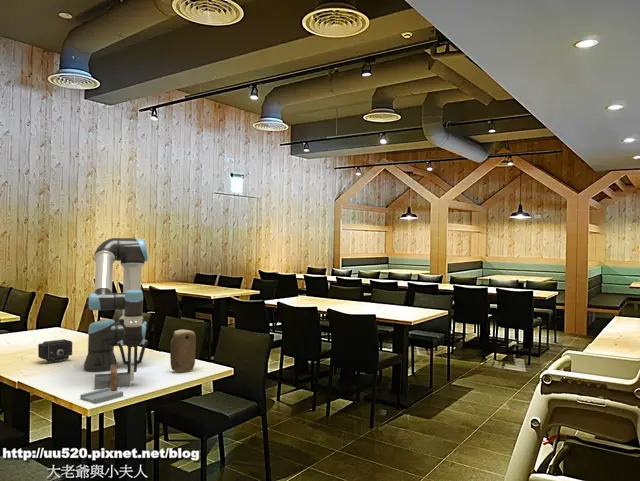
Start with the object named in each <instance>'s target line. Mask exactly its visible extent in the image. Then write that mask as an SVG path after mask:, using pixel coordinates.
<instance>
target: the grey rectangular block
mask: <svg viewBox="0 0 640 481" xmlns="http://www.w3.org/2000/svg"><path fill="white" fill-rule="evenodd" d="M110 377H111V372H108V373H98V374H97V373H96V374H94V390H100V389H104V388H110ZM118 387H120V388H129V387H131V381H130V373H128V372H125V371H124V372H117V388H118Z"/></svg>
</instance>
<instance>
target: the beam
mask: <svg viewBox="0 0 640 481" xmlns="http://www.w3.org/2000/svg"><path fill="white" fill-rule="evenodd" d="M110 373H111V377H110V390H111V391H115V392H118V391H117V390H118V389H117V373H118V363H117V364H116V365H111V370H110Z"/></svg>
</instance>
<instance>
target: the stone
mask: <svg viewBox="0 0 640 481" xmlns="http://www.w3.org/2000/svg"><path fill="white" fill-rule="evenodd" d="M172 335H173V336H172V338H171V341H170V351H169V352H170V354H169V355H170V359H169V360H170V367H171V368H170V369H171V370H172V371H174V372H177V373H187V372H191V371H193V369H194V367H195V365H196V348H197V337H196V333H195V331H193V330H188V329H178V330H174V331H173V334H172Z"/></svg>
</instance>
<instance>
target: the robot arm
mask: <svg viewBox="0 0 640 481" xmlns="http://www.w3.org/2000/svg"><path fill="white" fill-rule="evenodd" d="M148 259H149V258H148V248H147V244H146V240H145V239H143V238H136V237H135V238H134V237H132V238H131V237H130V238H128V237H127V238H126V237H124V238H123V237H111V238H108V239H106V240H105V241H103V242H102V243H100V244H99V245H98V246H97V247H96V249H95V251H94V255H93V261H94V263H95V272H94V273H95V275H94V287H93V288H94V289H93V292H91V293H89V294H88V309H89V310H90V311H112V310H113V311H117V310H118V311H119V310H120V311H121V310H122V315H121V316H120V317H119V318H118V321H117V322H116V321H115V319H111V318H110V319H102V320H96V321H94V322H92V323H90V324H89V326H88V332H87V334H88V341H87V342H88V343H87V355H86V358H85V361H84V363H83V371H85V372H92V373H93V372H94V373H95V372H97V373H99V372H109V371H111V365H116V364H117V365H118V361H117V358H116V355H115V352H114V348H115V347H118V348H119V351H120V352H119V353H120V355H121V359H122V363H123V365H126V366H127V367H126V368H127V369H126V370H127V372H128V373H130V382H132V381H135V373H137V371H138V364H142V362H143V361H142V360H143V358H144V355H145V354H144V353H145V351H146V347H147V346H148V344H149V341H148V340H146V339H145V338H146V332H147V324H148V323H147V321H146V320H145V321H144V317H143V306H144V302H143V301H144V293H143V290H142V268H143V267H144V266H145V265H146V264H145V262H147V261H149V260H148ZM115 262H119V263H120V264H119V265H120V266H121V267H122V268H123V272H122V273H123V279H122V281H123V282H122V284H123V285H122V292H113V272H114V271H113V268H114V263H115ZM141 345H142V346H141ZM139 346H141V349H140V354H139V357H138V347H139ZM123 347H127V360H126V355H125V351H124V348H123ZM132 348H133V364H132V363H131V362H132V361H131V360H132Z"/></svg>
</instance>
